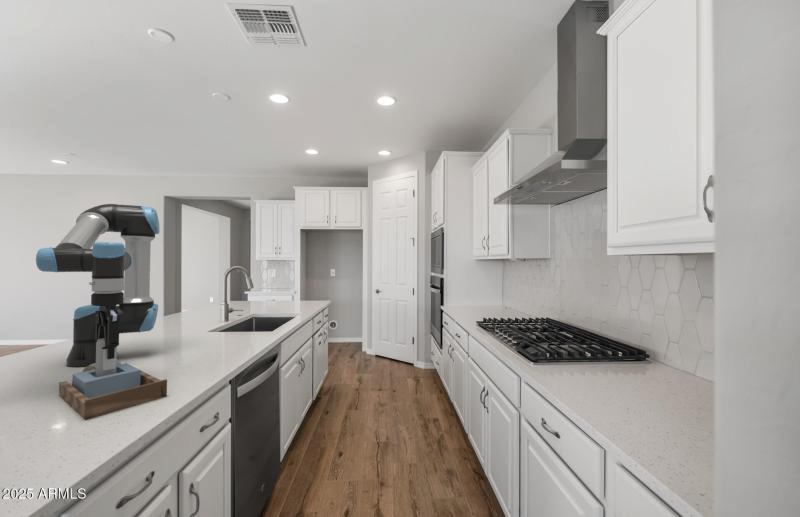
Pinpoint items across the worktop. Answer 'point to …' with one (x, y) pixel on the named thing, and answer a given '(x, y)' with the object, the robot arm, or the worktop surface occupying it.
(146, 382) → the bay
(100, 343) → the beverage can
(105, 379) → the blue recessed block
